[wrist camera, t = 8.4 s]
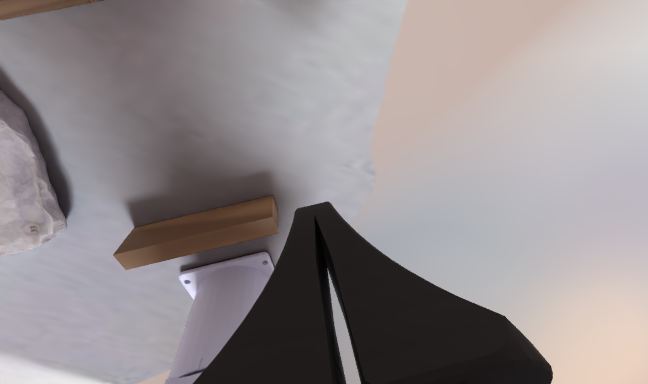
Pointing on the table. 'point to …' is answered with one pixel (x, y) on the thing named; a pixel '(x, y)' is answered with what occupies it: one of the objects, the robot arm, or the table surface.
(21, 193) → the stone block
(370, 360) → the robot arm
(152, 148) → the table surface
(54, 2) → the wooden bar set
